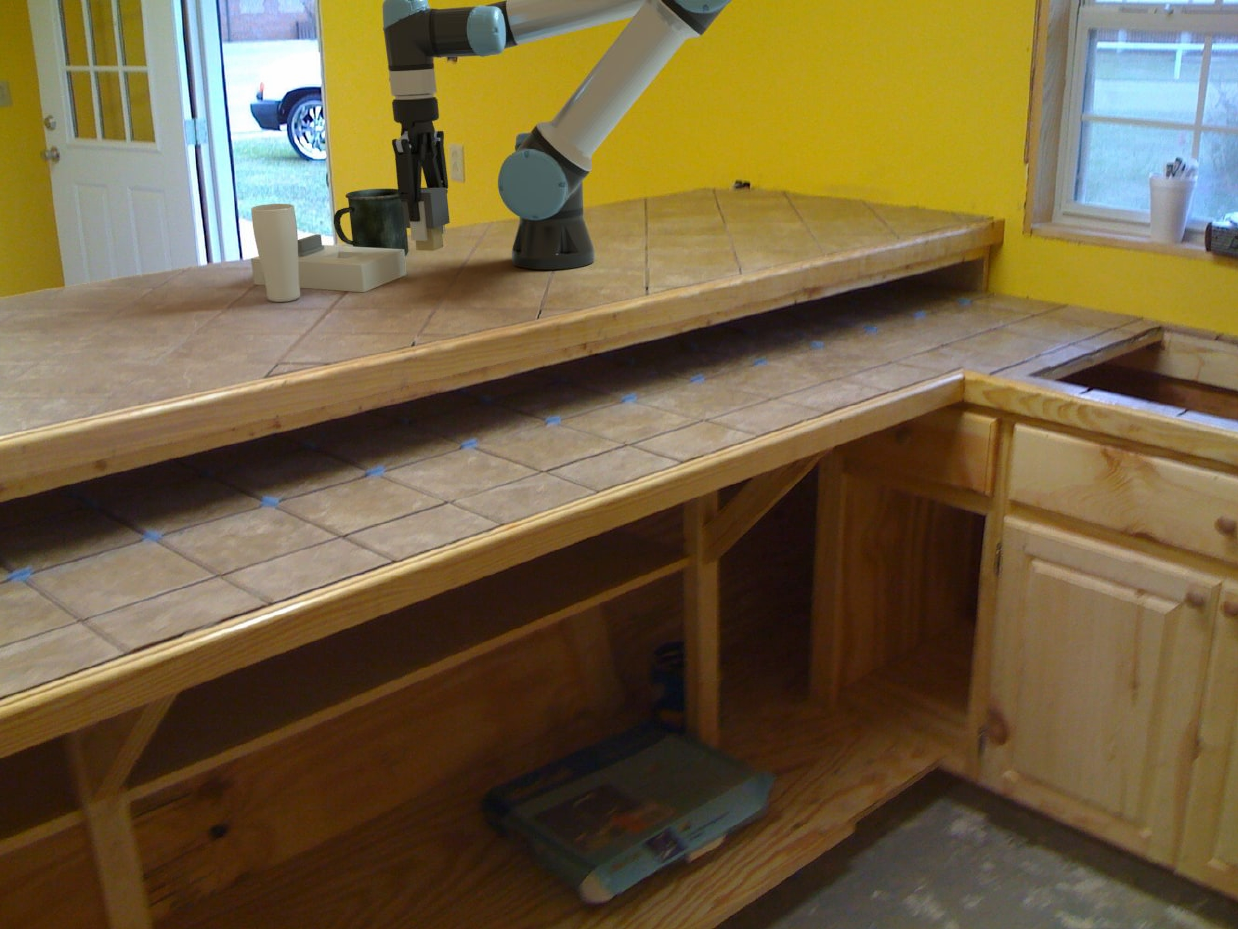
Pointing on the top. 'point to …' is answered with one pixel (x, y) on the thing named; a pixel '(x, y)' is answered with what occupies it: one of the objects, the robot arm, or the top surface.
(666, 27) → the robot arm
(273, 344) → the top surface
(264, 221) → the drinking glass
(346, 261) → the socket
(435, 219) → the plug
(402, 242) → the mug
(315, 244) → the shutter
